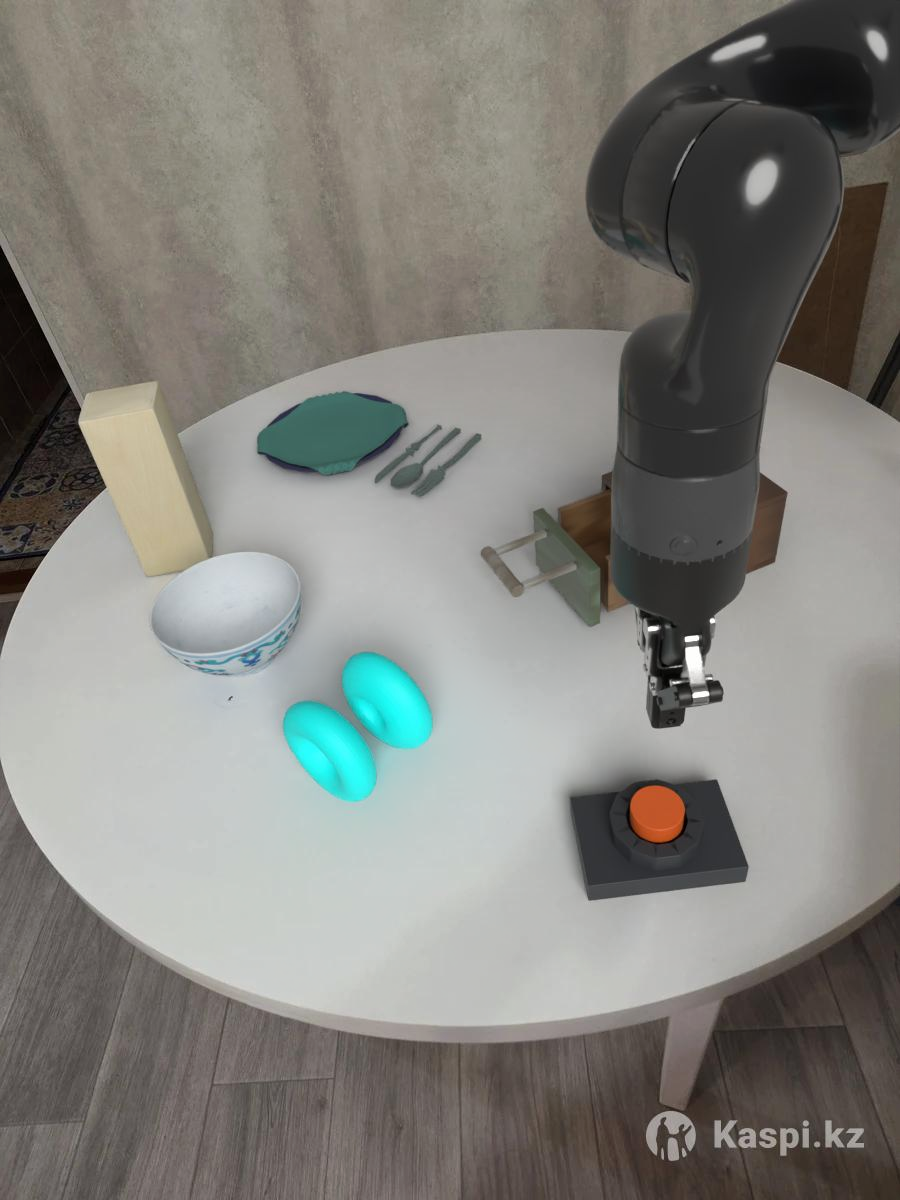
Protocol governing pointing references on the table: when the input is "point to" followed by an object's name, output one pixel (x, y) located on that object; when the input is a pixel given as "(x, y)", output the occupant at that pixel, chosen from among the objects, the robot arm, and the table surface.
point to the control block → (656, 844)
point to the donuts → (379, 705)
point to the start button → (657, 814)
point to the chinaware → (228, 613)
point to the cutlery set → (349, 438)
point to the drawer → (569, 556)
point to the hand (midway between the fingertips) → (664, 718)
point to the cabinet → (756, 521)
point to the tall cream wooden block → (147, 476)
